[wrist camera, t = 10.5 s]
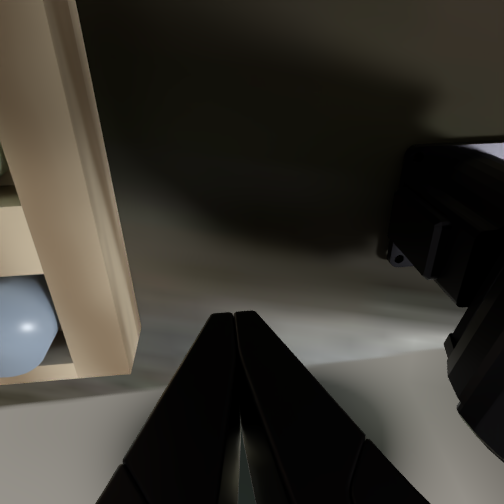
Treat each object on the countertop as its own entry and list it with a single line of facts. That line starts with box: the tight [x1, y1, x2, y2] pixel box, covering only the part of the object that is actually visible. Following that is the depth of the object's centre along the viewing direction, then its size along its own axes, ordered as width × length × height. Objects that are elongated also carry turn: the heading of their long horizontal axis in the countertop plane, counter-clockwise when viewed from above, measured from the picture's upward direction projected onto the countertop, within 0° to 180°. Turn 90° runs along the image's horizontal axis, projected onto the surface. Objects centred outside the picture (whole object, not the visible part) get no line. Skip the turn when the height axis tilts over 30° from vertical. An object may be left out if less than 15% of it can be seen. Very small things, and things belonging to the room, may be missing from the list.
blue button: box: [0, 274, 61, 378], centre depth 18 cm, size 4×4×3 cm
